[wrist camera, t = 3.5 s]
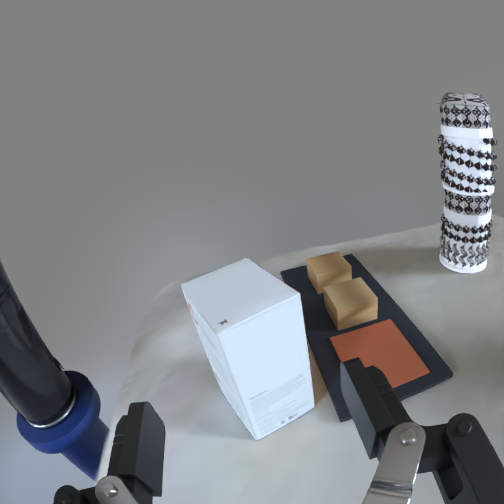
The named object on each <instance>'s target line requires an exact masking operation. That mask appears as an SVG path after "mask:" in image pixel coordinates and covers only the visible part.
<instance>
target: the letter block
mask: <svg viewBox="0 0 504 504" xmlns="http://www.w3.org/2000/svg"><path fill="white" fill-rule="evenodd" d="M306 264H307V271H308V277H309V279H310V281H311V282H312V284H313V286H314V288H315V290H316V291H317V293H318V294H321V293H324V291H323V287H326V286H330V285H334V284H337V283H341V282H345V281H348V280H352V271H351V265H350V264H349V263H348V262H347V261H346V260H345V258H344V257H343V256H342V255H341V254H340V253H339V252H338V251H337V252H333V253H329V254H325V255H321V256H317V257H312V258H308V259H306Z"/></svg>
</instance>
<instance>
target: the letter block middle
mask: <svg viewBox="0 0 504 504" xmlns="http://www.w3.org/2000/svg"><path fill="white" fill-rule="evenodd" d="M323 291H324V301H325V308H326V310H327V311H328V313H329V315H330V317H331V319H332V320H333V322H334V324H335V326H336V328H337V330H338V331H339V330H342V329H346V328H349V327H352V326H355V325H359V324H362V323H365V322H368V321H371V320H374V319H377V310H378V298H377V296H376V295H375V294H374V293H373V292H372V290H371V289H370V288H369V287H368V286H367V284H366V283H365V282H364V281H363V280H362V278H361V277H359V278H356V279H352V280H348V281H345V282H341V283H337V284H334V285H330V286H326V287H323Z"/></svg>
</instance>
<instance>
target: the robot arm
mask: <svg viewBox="0 0 504 504" xmlns="http://www.w3.org/2000/svg"><path fill="white" fill-rule="evenodd" d="M59 365H60V366H61V364H60V363H59V362H58V361H57V360H56V359H55V358H54V357H53V356H52V354H51V353H50V351H49V350H48V348H47V346H46V345H45V343H44V342H43V340H42V338H41V337H40V335H39V334H38V332H37V330H36V329H35V327H34V325H33V323H32V322H31V320H30V319H29V317H28V315H27V313H26V311H25V309H24V308H23V306H22V304H21V302H20V300H19V298H18V297H17V294H16V292H15V291H14V288H13V286H12V284H11V283H10V280H9V278H8V276H7V274H6V272H5V270H4V267H3V264H2V262H1V259H0V392H1V393H2V394H3V395H4V397H5V398H6V399H7V400H8V402H9V403H10V404H11V405H12V406H13V407H14V408H15V410H16V411H17V412H18V413H19V414H20V415H21V416H22V417H23V419H25V420H27V421H28V422H29V423H30V424H31V425H32V426H33V427H34V428H36V429H40V430H47V429H51V428H54V427H56V426H58V425H60V424H61V423H63V422H64V421H65V420H66V419H67V418H68V417H69V416H70V414H71V413H72V412H73V410H74V408H75V406H76V403H77V399H78V392H77V389H76V387H75V386H74V384H73V383H72V382H71V381H70V380H69V379H68V377H67V376H66V375H65V373H64V372H63V371H62V369H61V367H62V366H61V367H60V366H59ZM340 370H341V390H342V394H343V397H344V400H345V402H346V404H347V407H348V409H349V411H350V414H351V416H352V418H353V421H354V423H355V425H356V428H357V430H358V432H359V435H360V437H361V440H362V442H363V444H364V447H365V449H366V452H367V454H368V456H369V459H373V458H375V457H377V458H378V461H379V465H378V468H377V470H376V473H375V475H374V478H373V480H372V482H371V484H370V487H369V489H368V491H367V494H366V496H365V498H364V500H363V503H362V504H409V501H410V498H411V495H412V487H413V483H414V480H415V477H416V474H419V473H426V472H432V473H433V475H434V477H435V480H436V482H437V485H438V487H439V490H440V492H441V495H442V497H443V500H444V502H445V504H504V467H503V465H502V463H501V461H500V459H499V457H498V456H497V454H496V452H495V450H494V448H493V446H492V445H491V443H490V441H489V439H488V437H487V436H486V434H485V432H484V430H483V429H482V427H481V425H480V424H479V422H478V420H477V419H476V418H475V417H474V416H472V415H470V414H467V413H461V414H457V415H455V416H454V417H452V418H451V419H450V420H449V422H448V423H447V424H441V425H435V426H421V425H418V424H416V423H415V422H413V421H412V420H411V419H410V417H409V416H408V414H407V412H406V410H405V409H404V407H403V405H402V403H401V402H400V400H399V398H398V396H397V395H396V393H395V391H393V388H392V386H391V384H390V383H389V381H388V379H387V378H386V376H385V374H384V373H383V371H381V370H380V369H378V368H377V367H376V366H374V365H372V366H369V367H366V368H365V367H364V365H363V363H362V361H361V359H360V358H359V357H356V358H353V359H350V360H347V361H344V362H341V364H340ZM113 444H114V445H113V446H112V451H111V457H110V462H109V468H108V473H107V476H106V477H103V478H102V479H100V480H99V482H98V483H97V485H96V486H95V487H91V488H87V489H83V490H77V489H76V488H74V487H73V486H70V485H65V486H62V487H61V488H59V489H58V490H57V492H56V493H55V497H54V503H53V504H153V503H152V500H153V496H154V497H162V478H163V461H164V447H165V426H164V423H163V421H162V420H161V418H160V417H159V415H158V414H157V413H156V411H155V410H154V408H153V407H152V406H151V404H150V403H149V402H137V403H131V404H130V406H129V410H128V415H123V416H122V418H121V419H120V421H119V422H118V424H117V426H116V431H115V437H114V441H113Z"/></svg>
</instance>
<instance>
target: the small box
mask: <svg viewBox="0 0 504 504" xmlns="http://www.w3.org/2000/svg"><path fill="white" fill-rule="evenodd" d="M181 287H182V290H183V293H184V296H185V299H186V302H187V304H188V307H189V310H190V313H191V315H192V318H193V321H194V323H195V326H196V329H197V331H198V334H199V337H200V339H201V342H202V344H203V347H204V349H205V352H206V354H207V357H208V359H209V362H210V364H211V367H212V369H213V372H214V374H215V376H216V379H217V381H218V384H219V386H220V389H221V390H222V392H223V394H224V395H225V397H226V398H227V400H228V401H229V403H230V404H231V406H232V407H233V409H234V410H235V412H236V413H237V415H238V416H239V417H240V419H241V420H242V422H243V423H244V425H245V426H246V427H247V429H248V430H249V432H250V433H251V434H252V436H253V437H254V438H255V439H256V440H259V439H261V438H263V437H265V436H267V435H269V434H270V433H272V432H274V431H276V430H278V429H279V428H281V427H283V426H285V425H286V424H288V423H290V422H291V421H293V420H295V419H296V418H298V417H299V416H301V415H303V414H304V413H306V412H307V411H309V410H311V409H312V408H314V407H315V404H314V394H313V386H312V378H311V370H310V362H309V354H308V346H307V339H306V331H305V324H304V317H303V310H302V303H301V295H300V293H299V292H297V291H296V290H294V289H293V288H291V287H290V286H288V285H287V284H285V283H284V282H282V281H281V280H279V279H278V278H276V277H275V276H273V275H272V274H270V273H269V272H268V271H266V270H265V269H263V268H262V267H260V266H259V265H257V264H256V263H254V262H253V261H251V260H250V259H248V258H244V259H242V260H239V261H237V262H234V263H232V264H230V265H227V266H224V267H222V268H219V269H217V270H215V271H212V272H209V273H207V274H204V275H202V276H200V277H197V278H195V279H192V280H190V281H187V282H185V283H182V284H181Z"/></svg>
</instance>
